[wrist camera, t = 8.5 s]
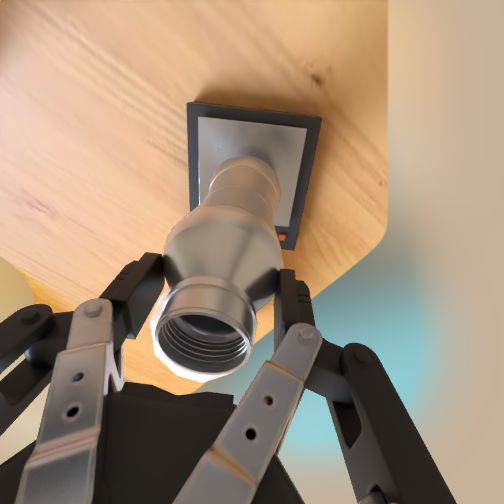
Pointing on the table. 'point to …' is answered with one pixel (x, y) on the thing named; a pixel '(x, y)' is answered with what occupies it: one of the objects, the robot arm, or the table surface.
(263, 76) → the table surface
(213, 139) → the scale pan
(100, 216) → the table surface
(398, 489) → the robot arm
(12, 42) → the table surface
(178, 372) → the geometric sphere
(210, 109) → the scale
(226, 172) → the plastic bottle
